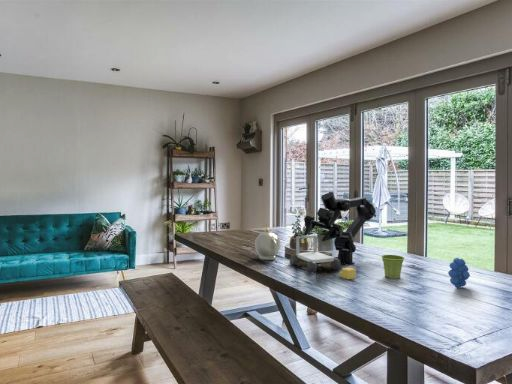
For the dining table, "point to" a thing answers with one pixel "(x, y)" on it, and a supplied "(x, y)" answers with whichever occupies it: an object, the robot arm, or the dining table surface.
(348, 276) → the yellow step block
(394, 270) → the plant pot
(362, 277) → the dining table surface
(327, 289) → the dining table surface
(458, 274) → the grapes
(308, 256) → the trolley
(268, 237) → the teapot
